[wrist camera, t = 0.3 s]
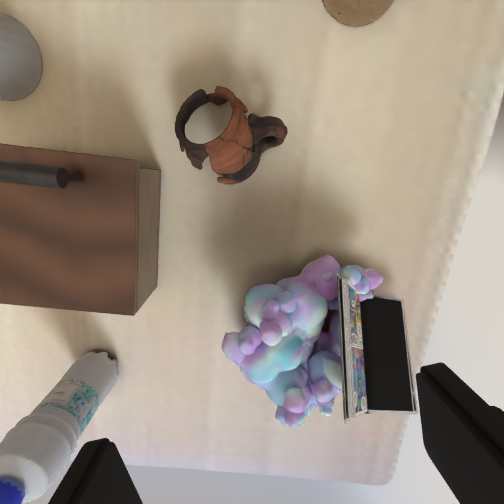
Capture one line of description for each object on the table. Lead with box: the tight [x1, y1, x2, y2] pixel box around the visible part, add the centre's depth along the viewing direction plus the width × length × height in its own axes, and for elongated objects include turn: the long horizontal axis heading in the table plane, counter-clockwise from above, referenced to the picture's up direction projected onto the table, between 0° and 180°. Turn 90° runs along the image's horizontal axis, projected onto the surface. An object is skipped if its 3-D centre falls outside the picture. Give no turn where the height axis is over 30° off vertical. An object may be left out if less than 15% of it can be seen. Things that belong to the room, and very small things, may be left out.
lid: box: [0, 144, 139, 316], centre depth 27 cm, size 16×15×5 cm
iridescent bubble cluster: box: [222, 255, 418, 428], centre depth 34 cm, size 20×22×18 cm
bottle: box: [0, 351, 118, 504], centre depth 33 cm, size 7×7×20 cm
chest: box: [136, 168, 161, 312], centre depth 34 cm, size 16×15×8 cm
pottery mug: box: [175, 86, 287, 184], centre depth 33 cm, size 12×10×8 cm
